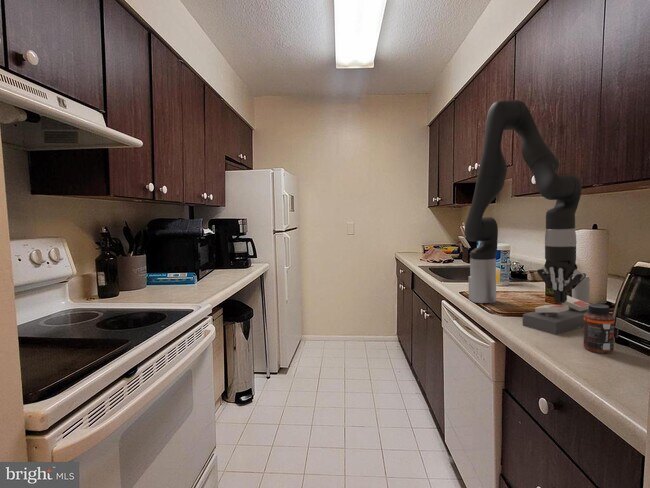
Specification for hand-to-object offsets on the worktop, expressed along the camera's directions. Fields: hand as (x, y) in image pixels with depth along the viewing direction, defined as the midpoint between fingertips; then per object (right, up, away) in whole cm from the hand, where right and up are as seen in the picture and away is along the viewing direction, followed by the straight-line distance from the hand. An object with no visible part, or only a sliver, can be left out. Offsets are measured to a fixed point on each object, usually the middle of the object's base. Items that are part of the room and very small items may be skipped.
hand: (560, 302), depth 100 cm
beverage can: (+18, -6, +17) cm, 25 cm away
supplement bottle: (-1, -9, -15) cm, 18 cm away
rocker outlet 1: (-1, -2, +3) cm, 4 cm away
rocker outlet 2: (+9, -1, +7) cm, 12 cm away
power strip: (+4, -7, +5) cm, 10 cm away
